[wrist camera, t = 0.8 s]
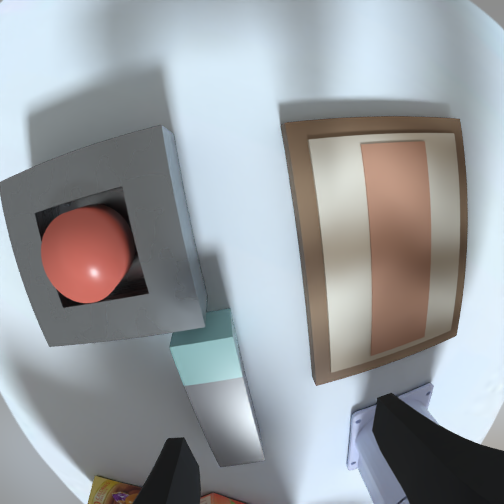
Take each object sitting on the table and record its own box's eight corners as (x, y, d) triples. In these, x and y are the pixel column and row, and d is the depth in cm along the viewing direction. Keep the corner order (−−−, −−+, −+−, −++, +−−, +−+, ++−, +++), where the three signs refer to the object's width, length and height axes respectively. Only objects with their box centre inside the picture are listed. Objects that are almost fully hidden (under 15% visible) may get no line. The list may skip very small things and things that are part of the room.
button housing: (207, 296, 17) (205, 327, 14) (72, 318, 16) (49, 346, 13) (173, 134, 14) (161, 125, 11) (33, 178, 14) (-2, 183, 11)
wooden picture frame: (449, 330, 20) (458, 337, 19) (312, 377, 19) (317, 388, 18) (450, 119, 16) (462, 118, 14) (280, 125, 15) (286, 121, 14)
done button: (144, 277, 14) (133, 295, 12) (76, 290, 14) (57, 308, 12) (124, 195, 13) (107, 200, 11) (54, 215, 13) (31, 223, 10)
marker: (261, 438, 21) (267, 468, 18) (222, 444, 21) (223, 474, 18) (229, 307, 17) (232, 336, 14) (176, 317, 17) (169, 347, 14)
